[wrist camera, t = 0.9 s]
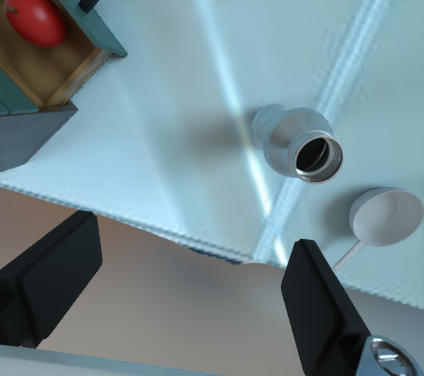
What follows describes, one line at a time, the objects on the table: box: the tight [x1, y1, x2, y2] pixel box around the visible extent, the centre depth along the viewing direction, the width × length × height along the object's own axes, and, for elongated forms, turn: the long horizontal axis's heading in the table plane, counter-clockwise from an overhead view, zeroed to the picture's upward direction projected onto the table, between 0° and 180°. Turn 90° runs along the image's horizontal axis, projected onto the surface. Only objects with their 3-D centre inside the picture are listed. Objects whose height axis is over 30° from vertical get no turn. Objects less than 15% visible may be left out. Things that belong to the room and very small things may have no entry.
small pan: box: [333, 187, 424, 271], centre depth 38 cm, size 11×18×4 cm, turn 151°
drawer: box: [0, 0, 128, 107], centre depth 27 cm, size 21×15×8 cm
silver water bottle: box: [250, 104, 345, 184], centre depth 25 cm, size 6×7×20 cm
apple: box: [4, 0, 67, 48], centre depth 25 cm, size 6×6×7 cm
